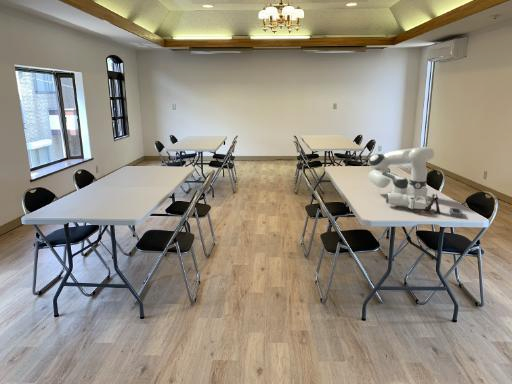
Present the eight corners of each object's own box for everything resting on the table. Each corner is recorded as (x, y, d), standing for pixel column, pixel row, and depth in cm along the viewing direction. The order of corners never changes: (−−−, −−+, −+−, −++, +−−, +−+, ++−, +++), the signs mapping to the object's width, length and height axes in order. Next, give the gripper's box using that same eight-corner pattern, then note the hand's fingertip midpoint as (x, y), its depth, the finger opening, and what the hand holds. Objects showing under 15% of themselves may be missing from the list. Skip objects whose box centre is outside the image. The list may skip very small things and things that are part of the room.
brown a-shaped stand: (439, 211, 259) (442, 194, 256) (440, 214, 254) (443, 196, 251) (425, 209, 262) (427, 193, 259) (425, 212, 257) (428, 195, 254)
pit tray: (449, 211, 260) (450, 207, 259) (459, 213, 257) (460, 208, 257) (451, 216, 249) (452, 212, 248) (462, 218, 247) (463, 213, 246)
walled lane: (419, 207, 267) (420, 205, 267) (430, 208, 265) (431, 206, 265) (420, 213, 253) (421, 211, 252) (432, 215, 251) (432, 213, 250)
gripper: (409, 201, 271) (431, 204, 266) (410, 209, 252) (433, 212, 248) (411, 193, 269) (432, 195, 265) (411, 200, 251) (434, 202, 246)
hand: (432, 203), depth 256 cm, fingers closed, pressing on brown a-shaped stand
